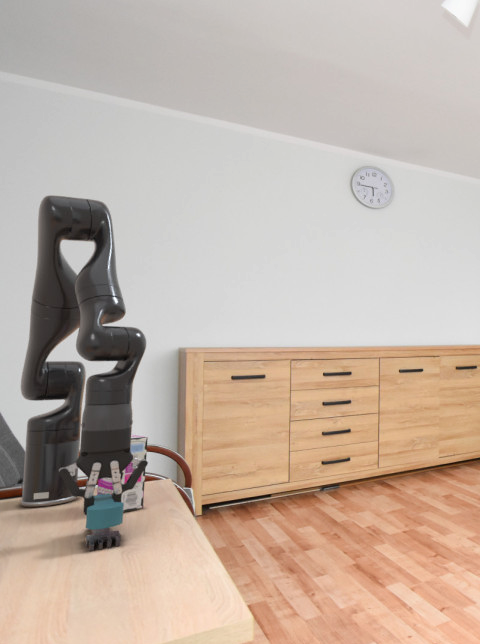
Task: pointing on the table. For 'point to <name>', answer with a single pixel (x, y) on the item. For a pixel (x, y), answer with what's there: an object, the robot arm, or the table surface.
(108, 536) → the fork
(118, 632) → the table surface
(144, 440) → the candy bar box
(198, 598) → the table surface
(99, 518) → the teal mallet
